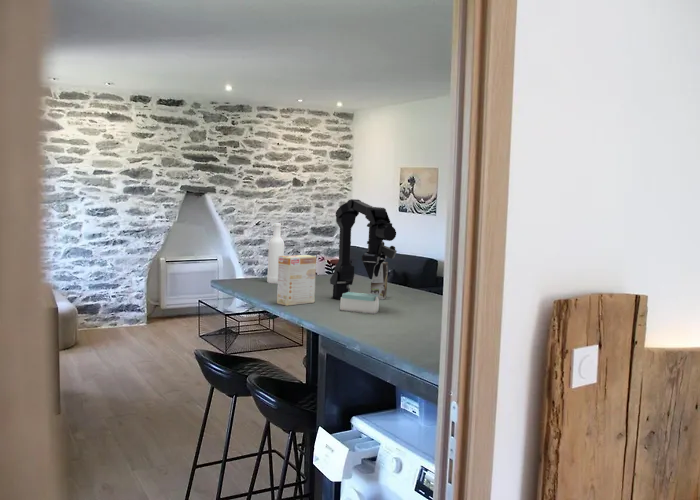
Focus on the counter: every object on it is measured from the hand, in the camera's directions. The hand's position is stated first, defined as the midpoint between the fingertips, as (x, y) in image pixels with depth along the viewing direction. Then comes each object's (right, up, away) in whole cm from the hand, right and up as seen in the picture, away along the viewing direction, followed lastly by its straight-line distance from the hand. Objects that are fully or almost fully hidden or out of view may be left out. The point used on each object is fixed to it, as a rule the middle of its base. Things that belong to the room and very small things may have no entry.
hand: (373, 277), depth 246 cm
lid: (-6, -8, -4) cm, 11 cm away
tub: (-6, -13, -4) cm, 15 cm away
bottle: (-47, -5, +63) cm, 79 cm away
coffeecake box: (-32, -11, +7) cm, 34 cm away
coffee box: (+3, -11, +31) cm, 33 cm away
